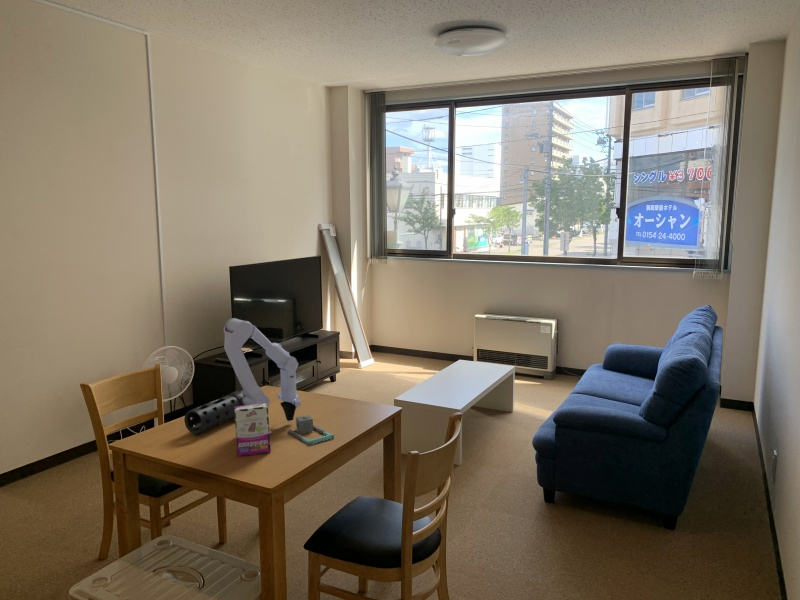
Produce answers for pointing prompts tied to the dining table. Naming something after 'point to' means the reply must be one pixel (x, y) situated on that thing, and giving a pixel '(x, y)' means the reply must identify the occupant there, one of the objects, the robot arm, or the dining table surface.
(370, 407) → the dining table surface
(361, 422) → the dining table surface
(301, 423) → the dice cube
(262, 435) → the candy bar box
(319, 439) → the guide lane
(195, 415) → the muzzle brake
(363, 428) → the dining table surface
